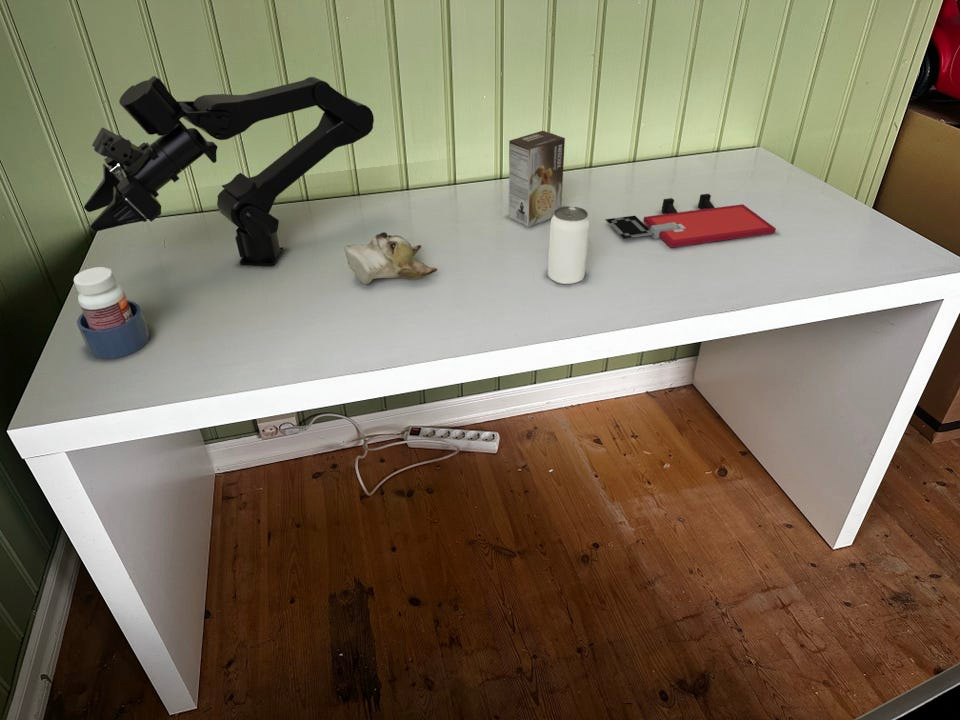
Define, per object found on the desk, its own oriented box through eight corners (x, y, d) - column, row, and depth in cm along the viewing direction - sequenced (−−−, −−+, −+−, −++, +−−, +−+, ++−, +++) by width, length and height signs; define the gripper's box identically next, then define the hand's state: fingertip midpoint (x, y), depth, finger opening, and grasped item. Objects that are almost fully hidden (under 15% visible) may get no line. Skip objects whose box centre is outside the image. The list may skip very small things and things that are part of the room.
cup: (159, 327, 109) (150, 300, 106) (133, 360, 102) (122, 332, 99) (107, 325, 110) (96, 298, 107) (77, 357, 103) (65, 330, 100)
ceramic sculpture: (336, 224, 118) (420, 215, 123) (340, 269, 123) (420, 258, 128) (350, 252, 110) (439, 241, 115) (353, 298, 115) (438, 285, 120)
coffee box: (540, 205, 145) (543, 129, 135) (561, 215, 141) (566, 137, 131) (507, 217, 140) (508, 139, 130) (528, 228, 136) (531, 148, 126)
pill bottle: (144, 342, 105) (120, 278, 98) (100, 356, 102) (73, 290, 95) (135, 323, 109) (111, 261, 102) (93, 336, 106) (66, 272, 100)
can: (560, 289, 117) (565, 224, 110) (540, 272, 122) (543, 209, 115) (591, 280, 120) (598, 216, 112) (571, 264, 124) (576, 202, 117)
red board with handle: (600, 219, 138) (633, 254, 127) (602, 206, 136) (636, 241, 125) (731, 203, 145) (774, 235, 133) (734, 190, 143) (777, 221, 132)
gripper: (120, 101, 110) (40, 162, 108) (139, 128, 96) (49, 198, 95) (171, 156, 117) (97, 214, 116) (195, 188, 104) (112, 254, 102)
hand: (89, 219), depth 107 cm, fingers open, 9 cm apart
